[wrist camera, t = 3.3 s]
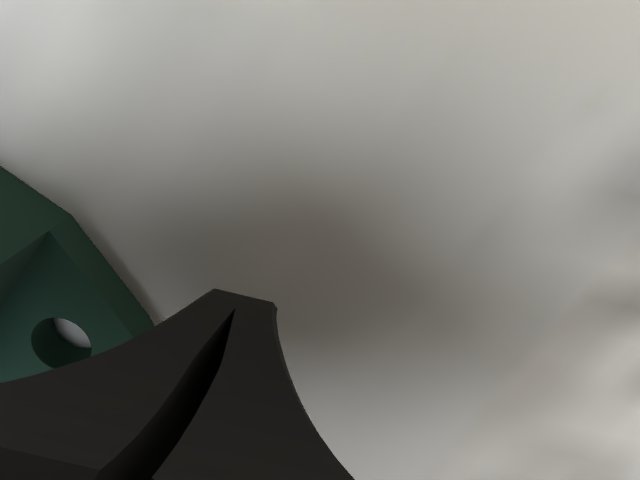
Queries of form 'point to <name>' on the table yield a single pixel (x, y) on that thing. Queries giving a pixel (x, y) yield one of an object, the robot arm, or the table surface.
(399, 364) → the table surface
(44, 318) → the mount
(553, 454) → the table surface
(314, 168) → the table surface
